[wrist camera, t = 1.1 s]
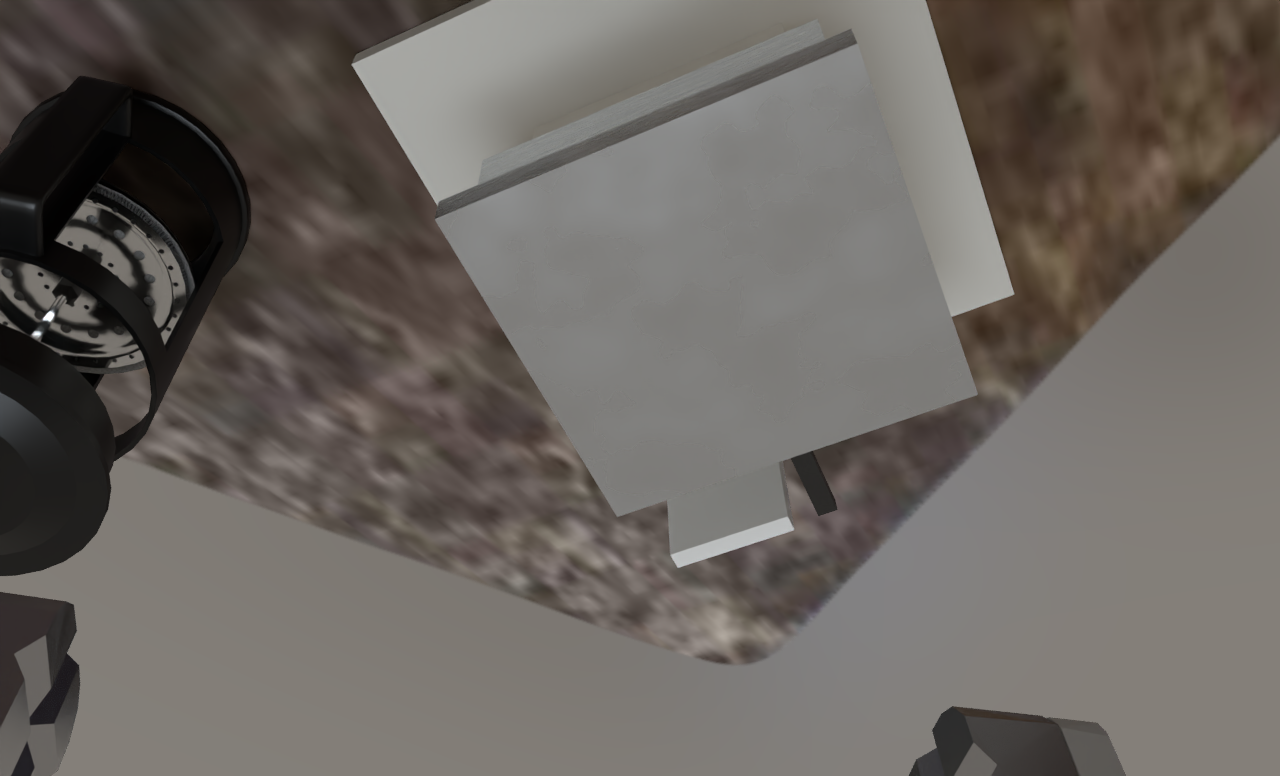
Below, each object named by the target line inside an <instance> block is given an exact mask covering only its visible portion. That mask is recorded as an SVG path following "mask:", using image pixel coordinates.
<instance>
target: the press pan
mask: <svg viewBox="0 0 1280 776" xmlns="http://www.w3.org/2000/svg"><path fill="white" fill-rule="evenodd" d="M435 221H436V222H437V224H438V226H439V227H440V229H441V230H442V232H443V234H444V235H445V237H446V239H447V240H448V242H449V243H450V245H451V247H452V248H453V250H454V252H455V253H456V255H457V256H458V258H459V260H460V261H461V263H462V265H463V266H464V268H465V270H466V271H467V273H468V274H469V276H470V278H471V279H472V281H473V283H474V284H475V286H476V287H477V289H478V291H479V292H480V294H481V296H482V297H483V299H484V300H485V302H486V304H487V305H488V307H489V309H490V310H491V312H492V313H493V315H494V317H495V318H496V320H497V322H498V323H499V325H500V327H501V328H502V330H503V331H504V333H505V335H506V336H507V338H508V340H509V341H510V343H511V344H512V346H513V348H514V349H515V351H516V353H517V354H518V356H519V357H520V359H521V361H522V362H523V364H524V366H525V367H526V369H527V371H528V372H529V374H530V375H531V377H532V379H533V380H534V382H535V384H536V385H537V387H538V388H539V390H540V392H541V393H542V395H543V397H544V398H545V400H546V401H547V403H548V405H549V406H550V408H551V410H552V411H553V413H554V415H555V416H556V418H557V419H558V421H559V423H560V424H561V426H562V428H563V429H564V431H565V432H566V434H567V436H568V437H569V439H570V441H571V442H572V444H573V445H574V447H575V449H576V450H577V452H578V454H579V455H580V457H581V459H582V460H583V462H584V463H585V465H586V467H587V468H588V470H589V472H590V473H591V475H592V476H593V478H594V480H595V481H596V483H597V485H598V486H599V488H600V489H601V491H602V493H603V494H604V496H605V498H606V499H607V501H608V502H609V504H610V506H611V507H612V509H613V511H614V512H615V514H616V516H617V517H618V516H621V515H624V514H627V513H630V512H633V511H636V510H639V509H642V508H645V507H648V506H651V505H654V504H657V503H660V502H663V501H666V500H669V499H671V498H674V497H677V496H680V495H683V494H686V493H689V492H692V491H695V490H698V489H701V488H704V487H707V486H710V485H713V484H716V483H719V482H722V481H725V480H728V479H730V478H733V477H736V476H739V475H742V474H745V473H748V472H751V471H754V470H757V469H760V468H763V467H766V466H769V465H772V464H775V463H778V462H781V461H784V460H787V459H790V458H791V459H792V462H793V464H794V466H795V468H796V470H797V472H798V474H799V476H800V478H801V480H802V482H803V485H804V487H805V489H806V491H807V493H808V495H809V497H810V499H811V501H812V503H813V505H814V508H815V510H816V512H817V514H818V516H820V515H823V514H826V513H829V512H832V511H835V510H837V506H836V502H835V498H834V496H833V494H832V492H831V490H830V488H829V486H828V483H827V481H826V479H825V477H824V475H823V473H822V470H821V468H820V466H819V464H818V462H817V460H816V457H815V455H814V453H813V450H816V449H819V448H822V447H825V446H828V445H831V444H834V443H837V442H840V441H843V440H846V439H849V438H851V437H854V436H857V435H860V434H863V433H866V432H869V431H872V430H875V429H878V428H881V427H884V426H887V425H890V424H893V423H896V422H899V421H902V420H905V419H908V418H911V417H913V416H916V415H919V414H922V413H925V412H928V411H931V410H934V409H937V408H940V407H943V406H946V405H949V404H952V403H955V402H958V401H961V400H964V399H967V398H970V397H972V396H975V395H978V393H977V390H976V387H975V384H974V381H973V378H972V375H971V372H970V370H969V367H968V364H967V361H966V358H965V355H964V352H963V349H962V346H961V343H960V340H959V338H958V335H957V332H956V329H955V326H954V323H953V320H952V317H951V314H950V311H949V308H948V305H947V303H946V300H945V297H944V294H943V291H942V288H941V285H940V282H939V279H938V276H937V273H936V270H935V268H934V265H933V262H932V259H931V256H930V253H929V250H928V247H927V244H926V241H925V238H924V236H923V233H922V230H921V227H920V224H919V221H918V218H917V215H916V212H915V209H914V206H913V203H912V201H911V198H910V195H909V192H908V189H907V186H906V183H905V180H904V177H903V174H902V171H901V168H900V166H899V163H898V160H897V157H896V154H895V151H894V148H893V145H892V142H891V139H890V136H889V134H888V131H887V128H886V125H885V122H884V119H883V116H882V113H881V110H880V107H879V104H878V101H877V99H876V96H875V93H874V90H873V87H872V84H871V81H870V78H869V75H868V72H867V69H866V67H865V64H864V61H863V58H862V55H861V52H860V49H859V46H858V43H857V41H856V39H855V36H854V34H853V32H852V29H849V30H847V31H844V32H842V33H839V34H837V35H835V36H832V37H830V38H827V39H825V38H824V35H823V32H822V30H821V27H820V24H819V22H818V19H815V20H813V21H810V22H808V23H806V24H803V25H801V26H798V27H796V28H794V29H791V30H789V31H787V32H784V33H782V34H780V35H777V36H775V37H772V38H770V39H768V40H765V41H763V42H761V43H758V44H756V45H754V46H751V47H749V48H747V49H744V50H742V51H739V52H737V53H735V54H732V55H730V56H728V57H725V58H723V59H721V60H718V61H716V62H713V63H711V64H709V65H706V66H704V67H702V68H699V69H697V70H695V71H692V72H690V73H688V74H685V75H683V76H680V77H678V78H676V79H673V80H671V81H669V82H666V83H664V84H662V85H659V86H657V87H654V88H652V89H650V90H647V91H645V92H643V93H640V94H638V95H636V96H633V97H631V98H628V99H626V100H624V101H621V102H619V103H617V104H614V105H612V106H610V107H607V108H605V109H603V110H600V111H598V112H595V113H593V114H591V115H588V116H586V117H584V118H581V119H579V120H577V121H574V122H572V123H569V124H567V125H565V126H562V127H560V128H558V129H555V130H553V131H551V132H548V133H546V134H543V135H541V136H539V137H536V138H534V139H532V140H529V141H527V142H525V143H522V144H520V145H518V146H515V147H513V148H510V149H508V150H506V151H503V152H501V153H499V154H496V155H494V156H492V157H489V158H487V159H484V160H483V161H482V166H481V171H480V176H479V182H478V185H476V186H474V187H472V188H469V189H467V190H465V191H462V192H460V193H457V194H455V195H453V196H450V197H448V198H445V199H443V200H441V201H439V203H438V207H437V211H436V215H435Z"/></svg>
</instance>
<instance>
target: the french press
mask: <svg viewBox="0 0 1280 776" xmlns="http://www.w3.org/2000/svg"><path fill="white" fill-rule="evenodd" d="M127 143H130V144H132V145H134V146H136V147H138V148H140V149H143V150H145V151H147V152H149V153H151V154H152V155H154V156H155V157H157V158H158V159H160V160H161V161H163V162H164V163H166V164H167V165H168V166H170V167H171V168H173V169H174V170H175V171H176V172H177V173H178V174H179V175H180V176H181V177H182V178H183V179H184V180H185V181H186V182H187V183H188V184H189V185H190V186H191V187H192V188H193V190H194V191H195V192H196V194H197V195H198V196H199V198H200V199H201V200H202V202H203V203H204V205H205V207H206V209H207V211H208V213H209V215H210V217H211V218H212V220H213V223H214V231H213V236H212V238H211V241H210V243H209V245H208V246H207V248H206V249H205V250H204V251H203V252H202V254H201V255H200V256H198V257H197V258H196V259H194V260H193V261H192V262H190V261H189V259H188V256H187V254H186V252H185V251H184V249H183V247H182V245H181V244H180V242H179V240H178V239H177V237H176V236H175V235H174V234H173V232H172V231H171V230H170V228H169V227H168V226H167V225H166V223H165V222H164V221H163V220H162V219H161V218H160V217H159V216H158V215H156V214H155V213H154V212H153V211H152V210H151V209H150V208H149V207H148V206H147V205H145V204H144V203H142V202H141V201H140V200H138V199H137V198H135V197H134V196H133V195H131V194H130V193H128V192H127V191H125V190H123V189H121V188H119V187H117V186H115V185H113V184H112V183H109V182H107V181H105V180H102V177H103V176H104V174H105V173H106V172H107V170H108V169H109V168H110V166H111V165H112V164H113V162H114V161H115V160H116V158H117V157H118V155H119V154H120V153H121V151H122V150H123V149H124V147H125V146H126V145H127ZM249 227H250V202H249V198H248V194H247V190H246V186H245V182H244V180H243V177H242V175H241V173H240V171H239V169H238V167H237V165H236V163H235V161H234V159H233V158H232V157H231V155H230V154H229V153H228V151H227V150H226V148H225V147H224V146H223V144H222V143H221V142H220V140H219V139H218V138H216V137H215V136H214V135H213V134H212V133H211V132H210V131H209V130H208V129H207V128H206V127H205V126H204V125H203V124H202V123H201V122H199V121H198V120H197V119H195V118H194V117H192V116H191V115H189V114H188V113H187V112H185V111H184V110H182V109H181V108H179V107H177V106H175V105H173V104H171V103H169V102H167V101H165V100H163V99H161V98H159V97H156V96H153V95H150V94H146V93H143V92H140V91H137V90H134V89H131V87H129V86H126V85H122V84H118V83H113V82H109V81H104V80H100V79H95V78H91V77H86V76H79V77H78V78H77V79H76V80H75V81H74V82H73V83H72V85H71V86H70V87H69V88H68V89H67V90H66V91H65V92H62V93H59V94H58V95H56V96H54V97H52V98H50V99H48V100H46V101H44V102H42V103H40V104H39V105H38V106H37V107H36V108H35V109H34V110H33V111H31V112H30V113H29V114H28V115H27V116H26V117H25V118H24V119H23V120H22V122H21V123H20V125H19V126H18V128H17V129H16V131H15V132H14V134H13V135H12V138H11V141H10V144H9V145H8V146H7V147H6V148H5V149H4V151H3V152H2V153H1V154H0V576H13V575H20V574H25V573H31V572H36V571H41V570H44V569H46V568H49V567H51V566H54V565H56V564H59V563H61V562H64V561H66V560H67V559H68V558H70V557H72V556H73V555H75V554H76V553H77V552H79V551H81V550H82V549H83V548H84V547H85V546H86V545H87V543H88V542H89V541H90V540H91V539H92V538H93V537H94V536H95V535H96V533H97V531H98V529H99V527H100V525H101V523H102V521H103V519H104V517H105V514H106V512H107V510H108V506H109V500H110V493H111V484H110V476H109V473H110V471H111V468H112V466H113V462H114V461H116V460H117V459H119V458H120V457H122V456H123V455H124V454H126V453H127V452H129V451H130V450H132V449H133V448H134V447H135V445H136V444H137V443H138V442H139V441H140V440H141V439H142V437H143V436H144V435H145V434H146V432H147V430H148V428H149V426H150V424H151V422H152V420H153V418H154V416H155V414H156V412H157V410H158V408H159V405H160V403H161V401H162V399H163V397H164V395H165V393H166V391H167V389H168V387H169V385H170V383H171V381H172V379H173V376H174V374H175V372H176V370H177V368H178V366H179V364H180V362H181V360H182V358H183V356H184V354H185V352H186V350H187V348H188V346H189V344H190V342H191V340H192V338H193V336H194V334H195V332H196V330H197V328H198V326H199V324H200V322H201V320H202V318H203V316H204V314H205V312H206V310H207V308H208V306H209V304H210V301H211V299H212V297H213V296H214V294H215V292H216V290H217V288H218V286H219V284H220V282H221V280H222V278H223V277H224V276H225V275H226V274H227V273H228V271H229V270H230V269H231V268H232V267H233V265H234V264H235V263H236V262H237V260H238V258H239V256H240V254H241V252H242V250H243V248H244V246H245V244H246V241H247V237H248V232H249ZM146 366H147V369H148V372H149V375H150V385H151V401H150V408H149V412H148V413H147V414H146V416H145V417H144V418H143V419H142V420H141V421H140V422H139V423H138V424H137V425H135V426H134V427H132V428H131V429H129V430H128V431H127V432H125V433H124V434H121V435H119V436H117V437H114V430H113V426H112V423H111V420H110V418H109V415H108V412H107V410H106V407H105V405H104V404H103V402H102V401H101V399H100V398H99V396H98V394H97V393H96V391H95V390H96V388H97V386H98V384H99V383H100V381H101V379H102V377H103V376H104V374H110V373H124V372H128V371H133V370H137V369H142V368H144V367H146Z"/></svg>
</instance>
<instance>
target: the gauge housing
mask: <svg viewBox="0 0 1280 776" xmlns="http://www.w3.org/2000/svg"><path fill="white" fill-rule="evenodd" d="M815 19H818V22H819V24H820V27H821V30H822V32H823V35H824V38H825V39H827V38H830V37H832V36H835V35H837V34H839V33H842V32H844V31H847V30H849V29H852V32H853V34H854V36H855V39H856V41H857V43H858V46H859V49H860V52H861V55H862V58H863V61H864V64H865V67H866V69H867V72H868V75H869V78H870V81H871V84H872V87H873V90H874V93H875V96H876V99H877V101H878V104H879V107H880V110H881V113H882V116H883V119H884V122H885V125H886V128H887V131H888V134H889V136H890V139H891V142H892V145H893V148H894V151H895V154H896V157H897V160H898V163H899V166H900V168H901V171H902V174H903V177H904V180H905V183H906V186H907V189H908V192H909V195H910V198H911V201H912V203H913V206H914V209H915V212H916V215H917V218H918V221H919V224H920V227H921V230H922V233H923V236H924V238H925V241H926V244H927V247H928V250H929V253H930V256H931V259H932V262H933V265H934V268H935V270H936V273H937V276H938V279H939V282H940V285H941V288H942V291H943V294H944V297H945V300H946V303H947V305H948V308H949V311H950V314H951V317H952V316H955V315H958V314H961V313H964V312H966V311H969V310H972V309H975V308H978V307H981V306H983V305H986V304H989V303H992V302H995V301H997V300H1000V299H1003V298H1006V297H1009V296H1012V295H1014V292H1013V288H1012V285H1011V282H1010V278H1009V275H1008V272H1007V268H1006V265H1005V262H1004V259H1003V255H1002V252H1001V249H1000V245H999V242H998V239H997V235H996V232H995V229H994V225H993V222H992V219H991V215H990V212H989V209H988V206H987V202H986V199H985V196H984V192H983V189H982V186H981V182H980V179H979V176H978V172H977V169H976V166H975V162H974V159H973V156H972V153H971V149H970V146H969V143H968V139H967V136H966V133H965V129H964V126H963V123H962V119H961V116H960V113H959V109H958V106H957V103H956V100H955V96H954V93H953V90H952V86H951V83H950V80H949V76H948V73H947V70H946V66H945V63H944V60H943V56H942V53H941V50H940V47H939V43H938V40H937V37H936V33H935V30H934V27H933V23H932V20H931V17H930V13H929V10H928V7H927V3H926V0H473V1H471V2H469V3H467V4H464V5H462V6H460V7H458V8H456V9H454V10H451V11H449V12H447V13H445V14H443V15H440V16H438V17H436V18H434V19H432V20H430V21H427V22H425V23H423V24H421V25H419V26H416V27H414V28H412V29H410V30H408V31H406V32H403V33H401V34H399V35H397V36H395V37H392V38H390V39H388V40H386V41H384V42H382V43H379V44H377V45H375V46H373V47H371V48H368V49H366V50H364V51H362V52H360V53H358V54H356V56H355V58H354V60H353V62H352V66H353V68H354V69H355V71H356V73H357V74H358V76H359V77H360V79H361V81H362V82H363V84H364V86H365V87H366V89H367V91H368V92H369V94H370V96H371V97H372V99H373V101H374V102H375V104H376V105H377V107H378V109H379V110H380V112H381V114H382V115H383V117H384V119H385V120H386V122H387V124H388V125H389V127H390V128H391V130H392V132H393V133H394V135H395V137H396V138H397V140H398V142H399V143H400V145H401V147H402V148H403V150H404V152H405V153H406V155H407V156H408V158H409V160H410V161H411V163H412V165H413V166H414V168H415V170H416V171H417V173H418V175H419V176H420V178H421V180H422V181H423V183H424V184H425V186H426V188H427V189H428V191H429V193H430V194H431V196H432V198H433V199H434V201H435V203H436V204H437V206H438V203H439V201H441V200H443V199H445V198H448V197H450V196H453V195H455V194H457V193H460V192H462V191H465V190H467V189H469V188H472V187H474V186H476V185H478V182H479V176H480V171H481V166H482V161H483V160H484V159H487V158H489V157H492V156H494V155H496V154H499V153H501V152H503V151H506V150H508V149H510V148H513V147H515V146H518V145H520V144H522V143H525V142H527V141H529V140H532V139H534V138H536V137H539V136H541V135H543V134H546V133H548V132H551V131H553V130H555V129H558V128H560V127H562V126H565V125H567V124H569V123H572V122H574V121H577V120H579V119H581V118H584V117H586V116H588V115H591V114H593V113H595V112H598V111H600V110H603V109H605V108H607V107H610V106H612V105H614V104H617V103H619V102H621V101H624V100H626V99H628V98H631V97H633V96H636V95H638V94H640V93H643V92H645V91H647V90H650V89H652V88H654V87H657V86H659V85H662V84H664V83H666V82H669V81H671V80H673V79H676V78H678V77H680V76H683V75H685V74H688V73H690V72H692V71H695V70H697V69H699V68H702V67H704V66H706V65H709V64H711V63H713V62H716V61H718V60H721V59H723V58H725V57H728V56H730V55H732V54H735V53H737V52H739V51H742V50H744V49H747V48H749V47H751V46H754V45H756V44H758V43H761V42H763V41H765V40H768V39H770V38H772V37H775V36H777V35H780V34H782V33H784V32H787V31H789V30H791V29H794V28H796V27H798V26H801V25H803V24H806V23H808V22H810V21H813V20H815ZM667 503H668V522H669V541H670V555H671V557H672V559H673V560H674V562H675V564H676V565H677V567H678V568H679V567H682V566H685V565H688V564H691V563H694V562H697V561H700V560H704V559H707V558H710V557H713V556H716V555H719V554H722V553H725V552H728V551H731V550H734V549H737V548H741V547H744V546H747V545H750V544H753V543H756V542H759V541H762V540H765V539H768V538H771V537H774V536H778V535H781V534H784V533H787V532H790V531H793V530H794V524H793V518H792V513H791V507H790V501H789V495H788V489H787V484H786V478H785V472H784V466H783V461H781V462H778V463H775V464H772V465H769V466H766V467H763V468H760V469H757V470H754V471H751V472H748V473H745V474H742V475H739V476H736V477H733V478H730V479H728V480H725V481H722V482H719V483H716V484H713V485H710V486H707V487H704V488H701V489H698V490H695V491H692V492H689V493H686V494H683V495H680V496H677V497H674V498H671V499H669V500H667Z"/></svg>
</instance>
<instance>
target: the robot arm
mask: <svg viewBox="0 0 1280 776" xmlns="http://www.w3.org/2000/svg"><path fill="white" fill-rule="evenodd" d="M76 631H77V629H76V619H75V610H74V605H73V604H71V603H69V602H66V601H59V600H52V599H45V598H38V597H31V596H24V595H17V594H10V593H3V592H0V776H51V775H52V774H54V773H55V772H57V771H58V769H59V766H60V764H61V761H62V759H63V756H64V754H65V751H66V749H67V746H68V744H69V741H70V737H71V733H72V730H73V726H74V722H75V718H76V714H77V710H78V702H79V690H80V672H79V665H78V664H77V663H76V662H75V661H74V660H73V659H72V658H71V657H70V656H69V655H68V654H67V652H68V649H69V647H70V645H71V643H72V641H73V638H74V636H75V634H76ZM932 731H933V735H934V739H935V743H936V746H937V748H936V749H934V750H932V751H931V752H929V753H927V754H925V755H923V756H922V757H920V758H918V759H916V761H915V763H914V765H913V768H912V770H911V772H910V774H909V776H1126V775H1125V772H1124V770H1123V768H1122V765H1121V763H1120V761H1119V759H1118V756H1117V754H1116V752H1115V749H1114V747H1113V745H1112V743H1111V740H1110V738H1109V736H1108V734H1107V732H1106V731H1105V730H1104V729H1103V728H1102V727H1101V726H1100V725H1099V724H1098V723H1093V722H1085V721H1076V720H1068V719H1058V718H1050V717H1049V718H1045V717H1043V716H1038V715H1028V714H1019V713H1010V712H1000V711H991V710H981V709H972V708H963V707H954V706H952V707H951V708H949V709H948V710H946V711H945V712H943V713H942V714H941V716H940V717H939V719H938V721H937V723H936V725H935V726H934V728H933V730H932Z"/></svg>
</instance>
